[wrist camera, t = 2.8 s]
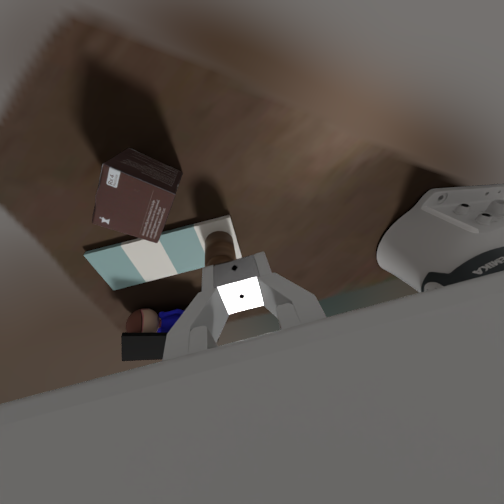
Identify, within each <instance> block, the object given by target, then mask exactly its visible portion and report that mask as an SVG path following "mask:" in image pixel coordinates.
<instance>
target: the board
mask: <svg viewBox="0 0 504 504" xmlns="http://www.w3.org/2000/svg"><path fill="white" fill-rule="evenodd" d="M215 231H224V232H227V233H228V234H230V235H231V237H232V238H233V242H234V248H235V254H236V259H237V258H241V257H242V256H241V252H240V249H239V245H238V242H237V238H236V235H235V231H234V228H233V224H232V221H231V218H230V215H227V216H223V217H219V218H215V219H211V220H207V221H203V222H199V223H195V224H192V225H188V226H184V227H180V228H176V229H172V230H168V231H164V232H162V234H161V236H160V239H159V241H158V243H154V242H150V241H147V240H144V239H141V238H137V239H133V240H129V241H125V242H121V243H118V244H114V245H110V246H106V247H102V248H98V249H94V250H90V251H86V252H85V254H84V256H85V258H86V259H87V260H88V261H89V262H90V263H91V265H92V266H93V267H94V268H95V269H96V270H97V272H98V273H99V274H100V275H101V276H102V277H103V279H104V280H105V281H106V282H107V283H108V284H109V286H110V287H111V288H112V289H113V290H118V289H122V288H125V287H129V286H133V285H137V284H141V283H145V282H149V281H152V280H156V279H160V278H164V277H168V276H172V275H175V274H179V273H183V272H187V271H191V270H195V269H199V268H202V267H205V240H206V238H207V236H208V235H209V234H211V233H212V232H215Z"/></svg>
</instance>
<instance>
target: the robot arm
mask: <svg viewBox="0 0 504 504" xmlns="http://www.w3.org/2000/svg"><path fill="white" fill-rule="evenodd" d="M377 261H378V264H379V265H380V266H381V268H383V269H384V270H386V271H388V272H390V273H392V274H394V275H395V276H397V277H398V278H400V279H401V280H403V281H404V282H406V283H407V284H409V285H410V286H411V287H413V288H414V289H415V290H417V291H418V292H419V293H417V294H414V295H410V296H406V297H402V298H398V299H394V300H391V301H387V302H383V303H379V304H376V305H372V306H368V307H364V308H361V309H357V310H353V311H350V312H345V313H342V314H338V315H334V316H330V317H326V316H325V314H324V312H323V310H322V308H321V306H320V304H319V302H318V300H317V298H316V297H315V295H313V294H312V293H310V292H308V291H306V290H305V289H303V288H301V287H299V286H298V285H296V284H294V283H292V282H291V281H289V280H287V279H285V278H284V277H282V276H280V275H278V274H277V273H272V272H271V269H270V267H269V264H268V261H267V258H266V255H265V253H264V252H260V253H256V254H254V255H251V256H247V257H243V258H239V259H236V260H231V261H227V262H223V263H218V264H214V265H210V266H206V267H203V269H202V292H199V293H198V294H197V295H196V297H195V298H194V299H193V301H192V302H191V303H190V304H189V306H188V307H187V308H186V310H185V311H184V312H183V314H182V315H181V316H180V318H179V319H178V320H177V321H176V323H175V324H174V325H173V327H172V328H171V329H170V331H169V332H168V333H167V337H166V342H165V348H164V354H163V359H162V361H161V362H157V363H153V364H150V365H146V366H142V367H138V368H135V369H131V370H127V371H123V372H120V373H116V374H112V375H108V376H104V377H101V378H97V379H93V380H89V381H86V382H82V383H78V384H74V385H71V386H67V387H63V388H59V389H55V390H52V391H48V392H44V393H40V394H37V395H33V396H29V397H25V398H21V399H18V400H14V401H11V402H7V403H3V404H0V504H504V184H493V185H478V186H464V187H449V188H435V189H431V190H429V191H428V192H426V193H425V194H424V195H423V196H422V198H421V199H420V200H419V201H418V202H417V204H416V205H415V206H414V207H413V208H412V209H411V210H410V211H408V212H407V213H406V214H404V215H403V216H402V217H401V218H399V219H398V220H397V221H396V222H395V223H394V224H393V225H392V226H391V227H390V228H389V229H388V231H387V232H386V233H385V235H384V236H383V238H382V240H381V242H380V244H379V246H378V250H377ZM262 305H264V306H265V307H266V308H267V309H268V310H269V311H270V312H271V313H272V314H274V315H275V316H276V317H277V318H278V321H279V325H280V330H278V331H274V332H270V333H266V334H262V335H259V336H255V337H251V338H248V339H244V340H240V341H236V342H232V343H229V344H225V345H221V346H217V344H216V342H217V340H218V338H219V336H220V333H221V331H222V329H223V327H224V325H225V323H226V321H227V318H228V316H229V314H231V313H235V312H238V311H242V310H245V309H249V308H253V307H258V306H262Z"/></svg>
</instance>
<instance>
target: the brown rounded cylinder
mask: <svg viewBox="0 0 504 504" xmlns="http://www.w3.org/2000/svg"><path fill="white" fill-rule="evenodd" d="M231 260H236V254H235V248H234V242H233V238H232V237H231V235H230V234H228V233H227V232H224V231H215V232H212V233H211V234H209V235H208V236H207V238H206V240H205V267H206V266H210V265H214V264H218V263H223V262H227V261H231Z"/></svg>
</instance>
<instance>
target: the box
mask: <svg viewBox="0 0 504 504" xmlns="http://www.w3.org/2000/svg"><path fill="white" fill-rule="evenodd" d="M182 175H183V173H182V172H181V171H179V170H177V169H175V168H173V167H170V166H168V165H166V164H164V163H161V162H159V161H157V160H155V159H153V158H151V157H148V156H146V155H144V154H142V153H140V152H138V151H136V150H133V149H130V148H127V149H126V150H124V151H123V152H121V153H119V154H118V155H116V156H115V157H113V158H111V159H110V160H108V161H107V162H105V163H103V164H102V169H101V174H100V180H99V185H98V190H97V193H96V198H95V201H96V202H95V207H94V212H93V217H92V223H93V224H96V225H99V226H103V227H106V228H109V229H112V230H116V231H119V232H122V233H125V234H128V235H132V236H135V237H138V238H141V239H144V240H147V241H150V242H154V243H158V241H159V239H160V236H161V234H162V231H163V229H164V226H165V223H166V221H167V218H168V215H169V212H170V209H171V207H172V204H173V201H174V198H175V194H176V191H177V188H178V185H179V183H180V180H181V177H182Z"/></svg>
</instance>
